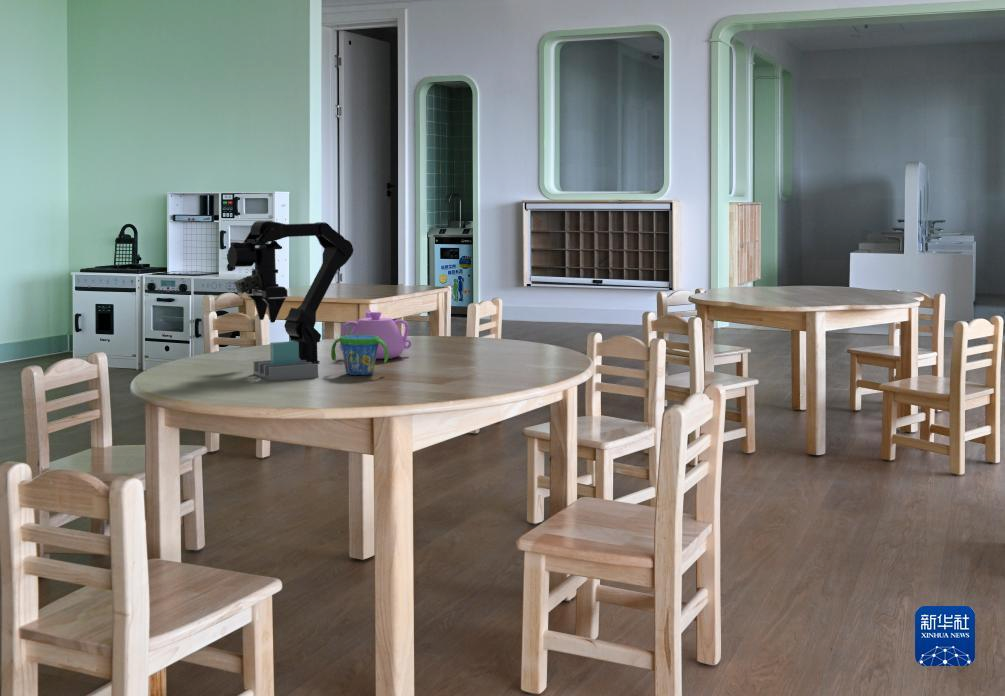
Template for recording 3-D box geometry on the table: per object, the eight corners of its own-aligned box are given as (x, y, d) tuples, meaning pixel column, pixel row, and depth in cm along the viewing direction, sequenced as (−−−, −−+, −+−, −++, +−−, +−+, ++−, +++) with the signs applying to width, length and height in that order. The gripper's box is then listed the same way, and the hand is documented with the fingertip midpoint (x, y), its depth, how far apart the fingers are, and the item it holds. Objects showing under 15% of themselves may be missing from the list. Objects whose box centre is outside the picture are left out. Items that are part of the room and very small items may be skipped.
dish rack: (299, 370, 301) (299, 358, 301) (318, 377, 288) (318, 364, 288) (253, 374, 295) (253, 361, 294) (270, 381, 282) (270, 367, 282)
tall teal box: (296, 370, 294) (295, 341, 293) (299, 371, 292) (298, 342, 291) (270, 372, 291) (270, 342, 290) (273, 373, 289) (273, 343, 288)
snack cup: (394, 372, 297) (393, 335, 296) (378, 378, 287) (378, 339, 286) (342, 370, 302) (341, 333, 301) (325, 375, 292) (324, 337, 291)
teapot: (401, 351, 345) (401, 307, 343) (418, 359, 324) (417, 313, 323) (332, 353, 338) (331, 309, 336) (345, 362, 317) (344, 315, 316)
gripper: (226, 265, 309) (228, 320, 311) (247, 268, 294) (249, 325, 296) (264, 264, 315) (266, 317, 317) (287, 266, 299) (289, 323, 301)
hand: (266, 321), depth 308 cm, fingers open, 9 cm apart
